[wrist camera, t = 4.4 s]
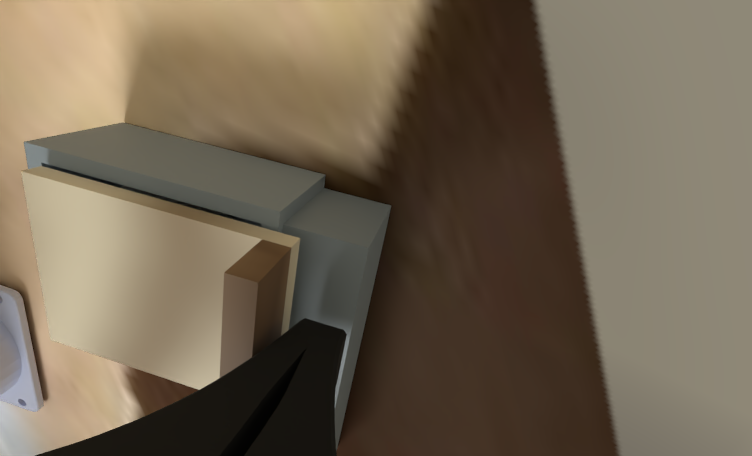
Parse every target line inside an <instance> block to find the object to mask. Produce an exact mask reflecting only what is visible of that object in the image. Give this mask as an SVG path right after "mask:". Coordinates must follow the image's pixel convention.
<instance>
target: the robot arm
mask: <svg viewBox="0 0 752 456" xmlns="http://www.w3.org/2000/svg"><path fill="white" fill-rule="evenodd" d="M346 336H347V334H346V332H345V331H344V330H343V329H340V328H336V327H333V326H330V325H326V324H323V323H320V322H316V321H313V320H310V319H307V318H304V319H302V320H300V321H299V322H298V323H297V324H295V325H294V326H293V327H292V328H290V329H289V330H288V331H287V332H285V333H284V334H283V335H282V336H280V337H279V338H278V339H276V340H275V341H274V342H272V343H271V344H270V345H268V346H267V347H266V348H264V349H263V350H261V351H260V352H259V353H257V354H256V355H254V356H253V357H252V358H250V359H249V360H247V361H246V362H244V363H243V364H241V365H240V366H238V367H236V368H235V369H233V370H232V371H230V372H228V373H227V374H225V375H224V376H222V377H221V378H219V379H217V380H216V381H214V382H212V383H210V384H209V385H207V386H205V387H203V388H202V389H200V390H198V391H196V392H194V393H192V394H190V395H189V396H187V397H185V398H183V399H181V400H179V401H177V402H175V403H173V404H170V405H168V406H166V407H164V408H162V409H160V410H158V411H156V412H154V413H151V414H149V415H147V416H145V417H142V418H140V419H138V420H135V421H133V422H131V423H128V424H125V425H123V426H120V427H118V428H115V429H113V430H110V431H107V432H105V433H102V434H100V435H97V436H94V437H91V438H89V439H86V440H83V441H80V442H77V443H74V444H71V445H68V446H65V447H61V448H58V449H55V450H52V451H48V452H45V453H42V454H39V455H36V456H337V455H336V440H335V388H336V384H337V380H338V375H339V370H340V366H341V361H342V356H343V351H344V346H345V341H346ZM0 400H2V401H4V402H7V403H10V404H13V405H15V406H18V407H21V408H24V409H27V410H29V411H33V412H36V411H38V410H39V409H41V408H42V407H43V406H44V401H43V396H42V391H41V386H40V381H39V376H38V371H37V366H36V362H35V357H34V352H33V347H32V342H31V337H30V332H29V327H28V322H27V317H26V312H25V307H24V302H23V298H22V296H21V295H20V293H19V292H17V291H16V290H14V289H11V288H8V287H5V286H2V285H0Z"/></svg>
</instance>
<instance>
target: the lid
mask: <svg viewBox="0 0 752 456" xmlns="http://www.w3.org/2000/svg"><path fill="white" fill-rule="evenodd" d="M21 175H22V181H23V186H24V192H25V198H26V203H27V209H28V215H29V220H30V226H31V232H32V237H33V243H34V249H35V254H36V260H37V266H38V271H39V277H40V283H41V288H42V294H43V300H44V305H45V311H46V317H47V322H48V328H49V334H50V339H51V340H52V341H55V342H58V343H61V344H64V345H67V346H70V347H73V348H76V349H79V350H82V351H85V352H88V353H91V354H94V355H97V356H100V357H103V358H106V359H109V360H112V361H115V362H118V363H121V364H124V365H127V366H130V367H133V368H136V369H139V370H142V371H145V372H148V373H151V374H154V375H157V376H160V377H163V378H166V379H169V380H172V381H175V382H178V383H181V384H183V385H186V386H189V387H192V388H195V389H198V390H200V389H202V388H203V387H205V386H207V385H209V384H210V383H212V382H214V381H216V380H217V379H219V378H221V377H222V376H224V375H225V374H227V373H228V372H230V371H232V370H233V369H235V368H236V367H238V366H240V365H241V364H243V363H244V362H246V361H247V360H249V359H250V358H252V357H253V356H254V355H256V354H257V353H259V352H260V351H261V350H263V349H264V348H266V347H267V346H268V345H270V344H271V343H272V342H274V341H275V340H276V339H278V338H279V337H280V336H282V335H283V334H284V333H285V332H287V331H288V330H289V323H290V315H291V307H292V299H293V292H294V284H295V276H296V268H297V261H298V253H299V245H300V238H298V237H294V236H291V235H287V234H284V233H280V232H276V231H273V230H269V229H266V228H262V227H258V226H255V225H251V224H248V223H244V222H241V221H237V220H233V219H230V218H226V217H223V216H219V215H215V214H212V213H208V212H205V211H201V210H197V209H194V208H190V207H187V206H183V205H180V204H176V203H172V202H169V201H165V200H162V199H158V198H154V197H151V196H147V195H144V194H140V193H137V192H133V191H129V190H126V189H122V188H119V187H115V186H111V185H108V184H104V183H101V182H97V181H93V180H90V179H86V178H83V177H79V176H76V175H72V174H68V173H65V172H61V171H58V170H54V169H50V168H47V167H43V166H39V167H35V168H31V169H27V170H23V171H21Z"/></svg>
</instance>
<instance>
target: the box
mask: <svg viewBox="0 0 752 456" xmlns="http://www.w3.org/2000/svg"><path fill="white" fill-rule="evenodd" d="M24 146H25V152H26V158H27V164H28V169H31V168H35V167H39V166H43V167H47V168H50V169H54V170H58V171H61V172H65V173H68V174H72V175H76V176H79V177H83V178H86V179H90V180H93V181H97V182H101V183H104V184H108V185H111V186H115V187H119V188H120V187H123V186H128V187H131V188H135V189H138V190H142V191H146V192H149V193H153V194H156V195H160V196H164V197H167V198H171V199H174V200H178V201H182V202H185V203H189V204H192V205H196V206H200V207H203V208H207V209H210V210H214V211H218V212H221V213H225V214H228V215H232V216H233V220H237V221H241V222H244V223H248V224H251V225H255V226H258V227H262V228H266V229H269V230H273V231H276V232H280V233H284V234H287V235H291V236H294V237H298V238H300V245H299V253H298V261H297V268H296V276H295V284H294V292H293V299H292V307H291V315H290V323H289V329H290V328H292V327H293V326H294V325H295V324H297V323H298V322H299V321H300V320H302V319H304V318H307V319H310V320H313V321H316V322H320V323H323V324H326V325H330V326H333V327H336V328H340V329H343V330H344V331H345V332H346V334H347V336H346V341H345V346H344V351H343V356H342V361H341V366H340V370H339V375H338V380H337V384H336V388H335V440H336V450H337V447H338V443H339V438H340V434H341V429H342V425H343V420H344V416H345V411H346V407H347V402H348V398H349V393H350V389H351V385H352V380H353V376H354V371H355V367H356V362H357V358H358V353H359V349H360V344H361V340H362V335H363V331H364V326H365V322H366V318H367V313H368V309H369V304H370V300H371V295H372V291H373V286H374V282H375V277H376V273H377V268H378V264H379V259H380V255H381V251H382V246H383V242H384V237H385V233H386V228H387V224H388V219H389V215H390V210H391V205H387V204H383V203H379V202H375V201H371V200H368V199H364V198H360V197H356V196H352V195H349V194H345V193H341V192H337V191H333V190H329V189H326V188H324V183H325V176H326V175H325V174H321V173H317V172H313V171H309V170H305V169H301V168H298V167H294V166H290V165H286V164H282V163H278V162H274V161H270V160H267V159H263V158H259V157H255V156H251V155H247V154H243V153H239V152H236V151H232V150H228V149H224V148H220V147H216V146H212V145H208V144H204V143H201V142H197V141H193V140H189V139H185V138H181V137H177V136H173V135H170V134H166V133H162V132H158V131H154V130H150V129H146V128H142V127H138V126H135V125H131V124H127V123H118V124H113V125H108V126H103V127H98V128H93V129H88V130H82V131H77V132H72V133H67V134H62V135H57V136H52V137H47V138H41V139H36V140H31V141H26V142H24Z"/></svg>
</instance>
